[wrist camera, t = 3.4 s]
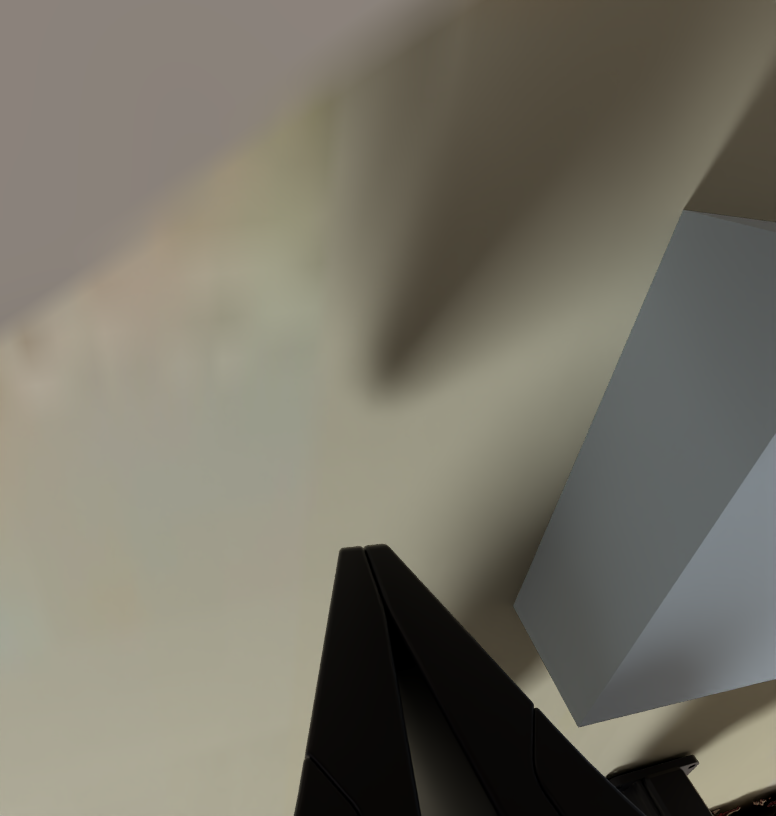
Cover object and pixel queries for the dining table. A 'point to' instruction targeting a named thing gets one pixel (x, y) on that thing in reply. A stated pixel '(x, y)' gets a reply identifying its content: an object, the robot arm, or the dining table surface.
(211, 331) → the dining table surface
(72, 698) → the dining table surface
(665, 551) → the blue-grey square block
